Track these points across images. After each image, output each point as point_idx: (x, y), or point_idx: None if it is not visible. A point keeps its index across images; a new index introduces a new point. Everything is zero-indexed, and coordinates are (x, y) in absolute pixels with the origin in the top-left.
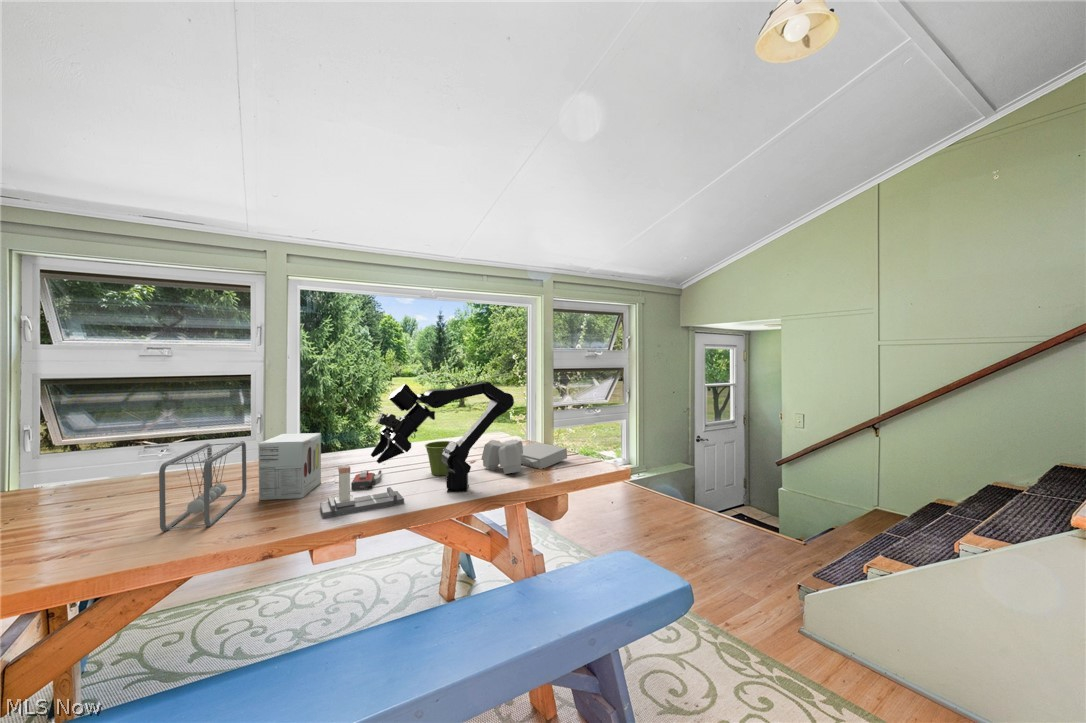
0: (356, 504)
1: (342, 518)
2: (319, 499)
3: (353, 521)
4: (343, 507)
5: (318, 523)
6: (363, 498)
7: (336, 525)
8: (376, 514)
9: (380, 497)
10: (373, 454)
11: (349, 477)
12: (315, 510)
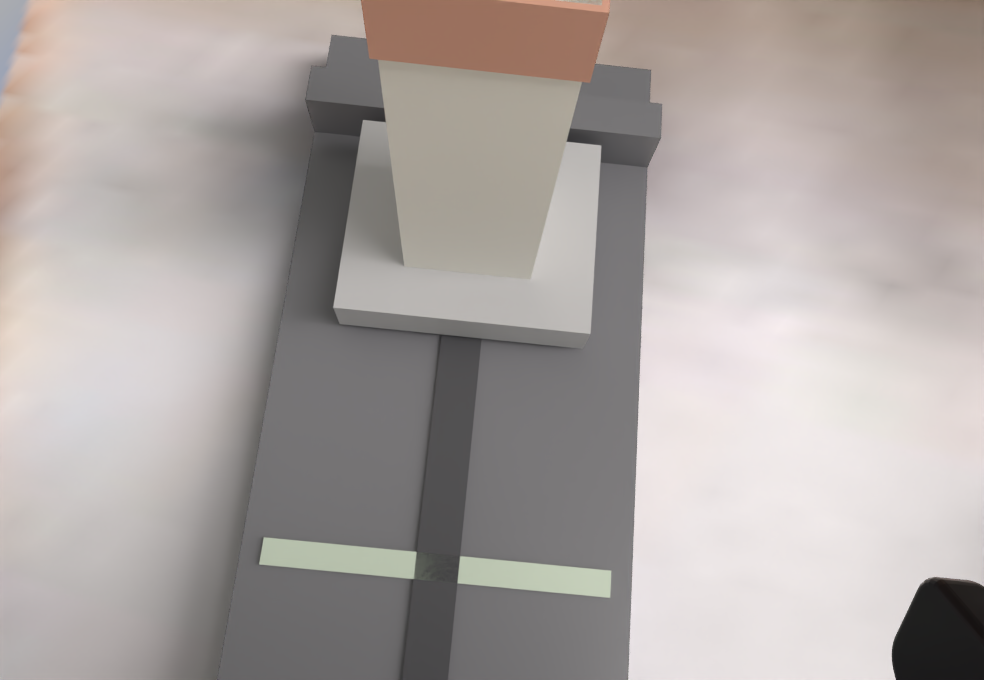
0: (368, 346)
1: (207, 195)
2: (935, 145)
3: (45, 255)
4: None
5: (231, 17)
6: (541, 469)
7: (63, 116)
8: (66, 498)
9: (432, 664)
10: (937, 668)
11: (384, 104)
12: (604, 58)
